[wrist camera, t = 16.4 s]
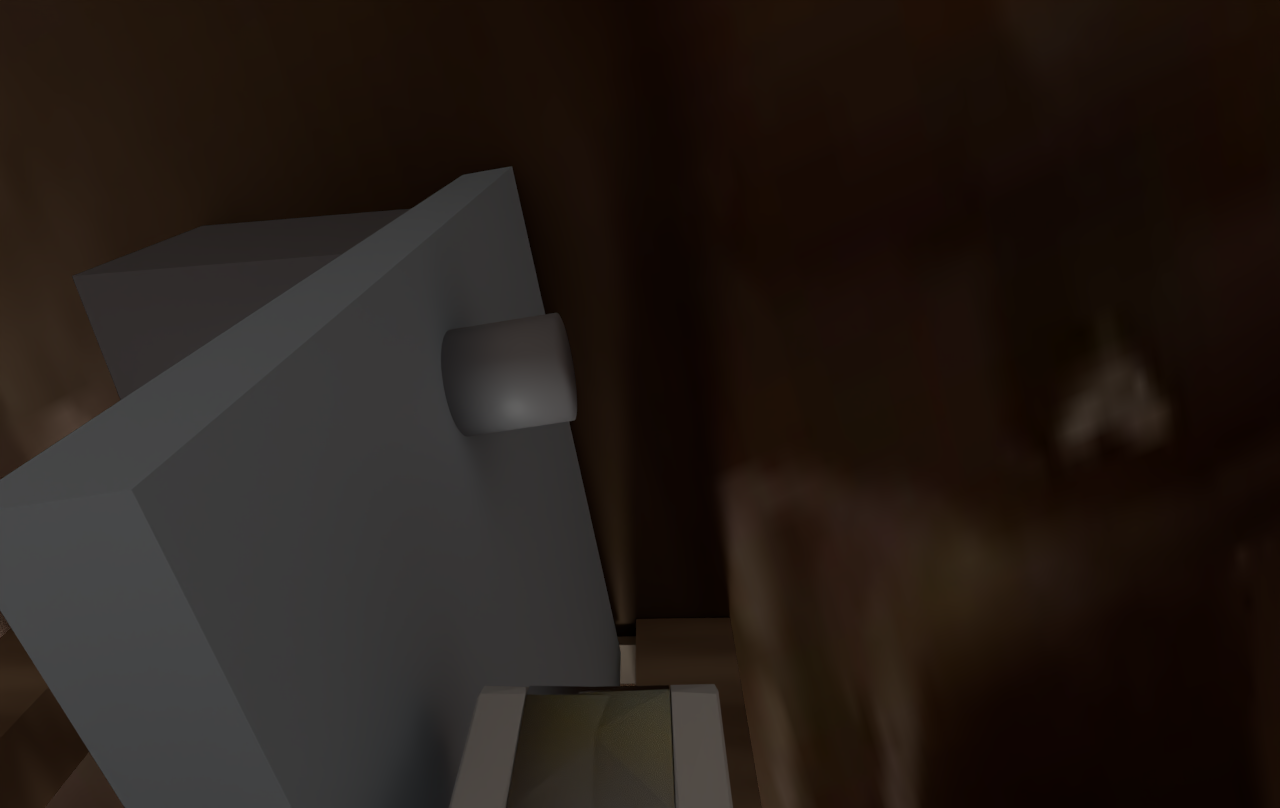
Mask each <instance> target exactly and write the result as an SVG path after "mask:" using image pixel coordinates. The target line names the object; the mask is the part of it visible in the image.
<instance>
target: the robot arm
mask: <svg viewBox="0 0 1280 808" xmlns="http://www.w3.org/2000/svg"><path fill="white" fill-rule="evenodd" d="M449 808H733V804H732V796H731V788H730V780H729V772H728V764H727V756H726V748H725V740H724V732H723V724H722V716H721V708H720V700H719V692H718V689H717V688H716V686H715V684H693V685H671V686H670V689H669V685H652V686H597V687H581V686H530V687H517V686H484V687H483V689H482V690H481V692H480V694H479V695H478V697H477V701H476V704H475V708H474V712H473V716H472V720H471V724H470V728H469V731H468V735H467V739H466V743H465V747H464V751H463V755H462V759H461V762H460V766H459V770H458V774H457V778H456V782H455V786H454V789H453V793H452V797H451V801H450V805H449Z"/></svg>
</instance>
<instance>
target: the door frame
mask: <svg viewBox="0 0 1280 808" xmlns="http://www.w3.org/2000/svg"><path fill="white" fill-rule="evenodd" d="M618 642H619V646H620V651H621V665H620V684H625V683H636V686H652V685H669V689H670V686H671V685H693V684H715V686H716V688H717V689H718V692H719V700H720V708H721V716H722V724H723V732H724V740H725V748H726V756H727V764H728V772H729V780H730V788H731V796H732V804H733V808H762V807H761V801H760V795H759V789H758V783H757V777H756V770H755V764H754V758H753V752H752V746H751V740H750V734H749V728H748V722H747V716H746V710H745V704H744V698H743V692H742V686H741V680H740V674H739V668H738V662H737V656H736V650H735V644H734V638H733V632H732V626H731V620H730V618H671V619H636V636H623V637H618ZM88 752H89V750H88V749H87V747H86V745H85V744H84V742H83V741H82V739H81V738H80V736H79V734H78V733H77V731H76V730H75V728H74V726H73V725H72V723H71V722H70V720H69V719H68V717H67V715H66V714H65V712H64V711H63V709H62V707H61V706H60V704H59V703H58V701H57V700H56V698H55V696H54V695H53V693H52V692H51V690H50V688H49V687H48V685H47V684H46V682H45V681H44V679H43V677H42V676H41V674H40V673H39V671H38V669H37V668H36V666H35V665H34V663H33V662H32V660H31V658H30V657H29V655H28V654H27V652H26V650H25V649H24V647H23V646H22V644H21V643H20V641H19V639H18V638H17V636H16V635H15V633H14V631H13V630H12V628H11V629H10V630H9V631H8V632H7V633H5V634H4V635H3V636H2V637H1V638H0V808H45V806H46V805H47V804H48V803H49V801H50V800H51V799H52V798H53V796H54V795H55V794H56V793H57V791H58V790H59V789H60V787H61V786H62V785H63V784H64V782H65V781H66V780H67V779H68V777H69V776H70V775H71V774H72V772H73V771H74V770H75V769H76V767H77V766H78V765H79V763H80V762H81V761H82V760H83V758H84V757H85V756H86V755H87V753H88Z"/></svg>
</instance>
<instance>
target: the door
mask: <svg viewBox="0 0 1280 808" xmlns="http://www.w3.org/2000/svg"><path fill="white" fill-rule="evenodd" d="M576 415H577V391H576V380H575V373H574V366H573V360H572V354H571V350H570V345H569V341H568V337H567V333H566V330H565V326H564V324H563V321H562V319H561V317H560V315H559V314H558V313H551V314H545V311H544V307H543V302H542V298H541V293H540V289H539V285H538V280H537V276H536V271H535V267H534V262H533V258H532V253H531V249H530V244H529V240H528V235H527V231H526V226H525V222H524V218H523V213H522V209H521V204H520V200H519V195H518V191H517V186H516V182H515V177H514V173H513V168H512V166H511V167H505V168H499V169H493V170H488V171H482V172H476V173H470V174H464V175H462V176H460V177H459V178H457V179H456V180H454V181H453V182H451V183H450V184H448V185H447V186H445V187H444V188H442V189H440V190H439V191H437V192H436V193H434V194H433V195H431V196H430V197H428V198H427V199H425V200H424V201H422V202H421V203H419V204H418V205H416V206H415V207H413V208H412V209H410V210H409V211H407V212H406V213H404V214H403V215H401V216H400V217H398V218H396V219H395V220H393V221H392V222H390V223H389V224H387V225H386V226H384V227H383V228H381V229H380V230H378V231H377V232H375V233H374V234H372V235H371V236H369V237H368V238H366V239H365V240H363V241H362V242H360V243H359V244H357V245H356V246H354V247H352V248H351V249H349V250H348V251H346V252H345V253H343V254H342V255H340V256H339V257H337V258H336V259H334V260H333V261H331V262H330V263H328V264H327V265H325V266H324V267H322V268H321V269H319V270H318V271H316V272H315V273H313V274H312V275H310V276H308V277H307V278H305V279H304V280H302V281H301V282H299V283H298V284H296V285H295V286H293V287H292V288H290V289H289V290H287V291H286V292H284V293H283V294H281V295H280V296H278V297H277V298H275V299H274V300H272V301H271V302H269V303H268V304H266V305H264V306H263V307H261V308H260V309H258V310H257V311H255V312H254V313H252V314H251V315H249V316H248V317H246V318H245V319H243V320H242V321H240V322H239V323H237V324H236V325H234V326H233V327H231V328H230V329H228V330H227V331H225V332H224V333H222V334H220V335H219V336H217V337H216V338H214V339H213V340H211V341H210V342H208V343H207V344H205V345H204V346H202V347H201V348H199V349H198V350H196V351H195V352H193V353H192V354H190V355H189V356H187V357H186V358H184V359H183V360H181V361H180V362H178V363H176V364H175V365H173V366H172V367H170V368H169V369H167V370H166V371H164V372H163V373H161V374H160V375H158V376H157V377H155V378H154V379H152V380H151V381H149V382H148V383H146V384H145V385H143V386H142V387H140V388H139V389H137V390H136V391H134V392H132V393H131V394H129V395H128V396H126V397H125V398H123V399H122V400H120V401H119V402H117V403H116V404H114V405H113V406H111V407H110V408H108V409H107V410H105V411H104V412H102V413H101V414H99V415H98V416H96V417H95V418H93V419H92V420H90V421H88V422H87V423H85V424H84V425H82V426H81V427H79V428H78V429H76V430H75V431H73V432H72V433H70V434H69V435H67V436H66V437H64V438H63V439H61V440H60V441H58V442H57V443H55V444H54V445H52V446H51V447H49V448H47V449H46V450H44V451H43V452H41V453H40V454H38V455H37V456H35V457H34V458H32V459H31V460H29V461H28V462H26V463H25V464H23V465H22V466H20V467H19V468H17V469H16V470H14V471H13V472H11V473H10V474H8V475H7V476H5V477H3V478H2V479H0V611H1V612H2V614H3V616H4V617H5V619H6V620H7V622H8V624H9V625H10V627H11V628H12V630H13V631H14V633H15V635H16V636H17V638H18V639H19V641H20V643H21V644H22V646H23V647H24V649H25V650H26V652H27V654H28V655H29V657H30V658H31V660H32V662H33V663H34V665H35V666H36V668H37V669H38V671H39V673H40V674H41V676H42V677H43V679H44V681H45V682H46V684H47V685H48V687H49V688H50V690H51V692H52V693H53V695H54V696H55V698H56V700H57V701H58V703H59V704H60V706H61V707H62V709H63V711H64V712H65V714H66V715H67V717H68V719H69V720H70V722H71V723H72V725H73V726H74V728H75V730H76V731H77V733H78V734H79V736H80V738H81V739H82V741H83V742H84V744H85V745H86V747H87V749H88V750H89V752H90V753H91V755H92V757H93V758H94V760H95V761H96V763H97V765H98V766H99V768H100V769H101V771H102V772H103V774H104V776H105V777H106V779H107V780H108V782H109V784H110V785H111V787H112V788H113V790H114V791H115V793H116V795H117V796H118V798H119V799H120V801H121V803H122V804H123V806H124V807H125V808H449V805H450V801H451V797H452V793H453V789H454V786H455V782H456V778H457V774H458V770H459V766H460V762H461V759H462V755H463V751H464V747H465V743H466V739H467V735H468V731H469V728H470V724H471V720H472V716H473V712H474V708H475V704H476V701H477V697H478V695H479V694H480V692H481V690H482V689H483V687H484V686H517V687H530V686H581V687H597V686H620V665H621V651H620V646H619V642H618V637H617V633H616V629H615V624H614V620H613V615H612V611H611V606H610V602H609V597H608V593H607V588H606V584H605V579H604V575H603V570H602V566H601V562H600V557H599V553H598V548H597V544H596V539H595V535H594V530H593V526H592V521H591V517H590V512H589V508H588V503H587V499H586V495H585V490H584V486H583V481H582V477H581V472H580V468H579V463H578V459H577V454H576V450H575V445H574V441H573V436H572V432H571V428H570V423H569V421H574V420H575V419H576Z"/></svg>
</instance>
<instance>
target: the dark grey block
mask: <svg viewBox="0 0 1280 808" xmlns="http://www.w3.org/2000/svg"><path fill="white" fill-rule="evenodd" d="M409 210H410V209H401V210H389V211H377V212H364V213H352V214H340V215H328V216H316V217H304V218H292V219H280V220H267V221H255V222H243V223H231V224H219V225H207V226H201V227H198V228H195V229H193V230H190V231H188V232H185V233H182V234H180V235H177V236H175V237H172V238H169V239H167V240H164V241H162V242H159V243H156V244H154V245H151V246H149V247H146V248H143V249H141V250H138V251H136V252H133V253H130V254H128V255H125V256H123V257H120V258H117V259H115V260H112V261H110V262H107V263H104V264H102V265H99V266H97V267H94V268H91V269H89V270H86V271H84V272H81V273H78V274H76V275H73V276H72V277H73V280H74V282H75V285H76V288H77V290H78V293H79V295H80V298H81V300H82V303H83V305H84V308H85V310H86V313H87V316H88V318H89V321H90V323H91V326H92V328H93V331H94V333H95V336H96V339H97V341H98V344H99V346H100V349H101V351H102V354H103V356H104V359H105V361H106V364H107V367H108V369H109V372H110V374H111V377H112V379H113V382H114V384H115V387H116V389H117V392H118V395H119V397H120V400H122V399H123V398H125V397H126V396H128V395H129V394H131V393H132V392H134V391H136V390H137V389H139V388H140V387H142V386H143V385H145V384H146V383H148V382H149V381H151V380H152V379H154V378H155V377H157V376H158V375H160V374H161V373H163V372H164V371H166V370H167V369H169V368H170V367H172V366H173V365H175V364H176V363H178V362H180V361H181V360H183V359H184V358H186V357H187V356H189V355H190V354H192V353H193V352H195V351H196V350H198V349H199V348H201V347H202V346H204V345H205V344H207V343H208V342H210V341H211V340H213V339H214V338H216V337H217V336H219V335H220V334H222V333H224V332H225V331H227V330H228V329H230V328H231V327H233V326H234V325H236V324H237V323H239V322H240V321H242V320H243V319H245V318H246V317H248V316H249V315H251V314H252V313H254V312H255V311H257V310H258V309H260V308H261V307H263V306H264V305H266V304H268V303H269V302H271V301H272V300H274V299H275V298H277V297H278V296H280V295H281V294H283V293H284V292H286V291H287V290H289V289H290V288H292V287H293V286H295V285H296V284H298V283H299V282H301V281H302V280H304V279H305V278H307V277H308V276H310V275H312V274H313V273H315V272H316V271H318V270H319V269H321V268H322V267H324V266H325V265H327V264H328V263H330V262H331V261H333V260H334V259H336V258H337V257H339V256H340V255H342V254H343V253H345V252H346V251H348V250H349V249H351V248H352V247H354V246H356V245H357V244H359V243H360V242H362V241H363V240H365V239H366V238H368V237H369V236H371V235H372V234H374V233H375V232H377V231H378V230H380V229H381V228H383V227H384V226H386V225H387V224H389V223H390V222H392V221H393V220H395V219H396V218H398V217H400V216H401V215H403V214H404V213H406V212H407V211H409Z"/></svg>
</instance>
